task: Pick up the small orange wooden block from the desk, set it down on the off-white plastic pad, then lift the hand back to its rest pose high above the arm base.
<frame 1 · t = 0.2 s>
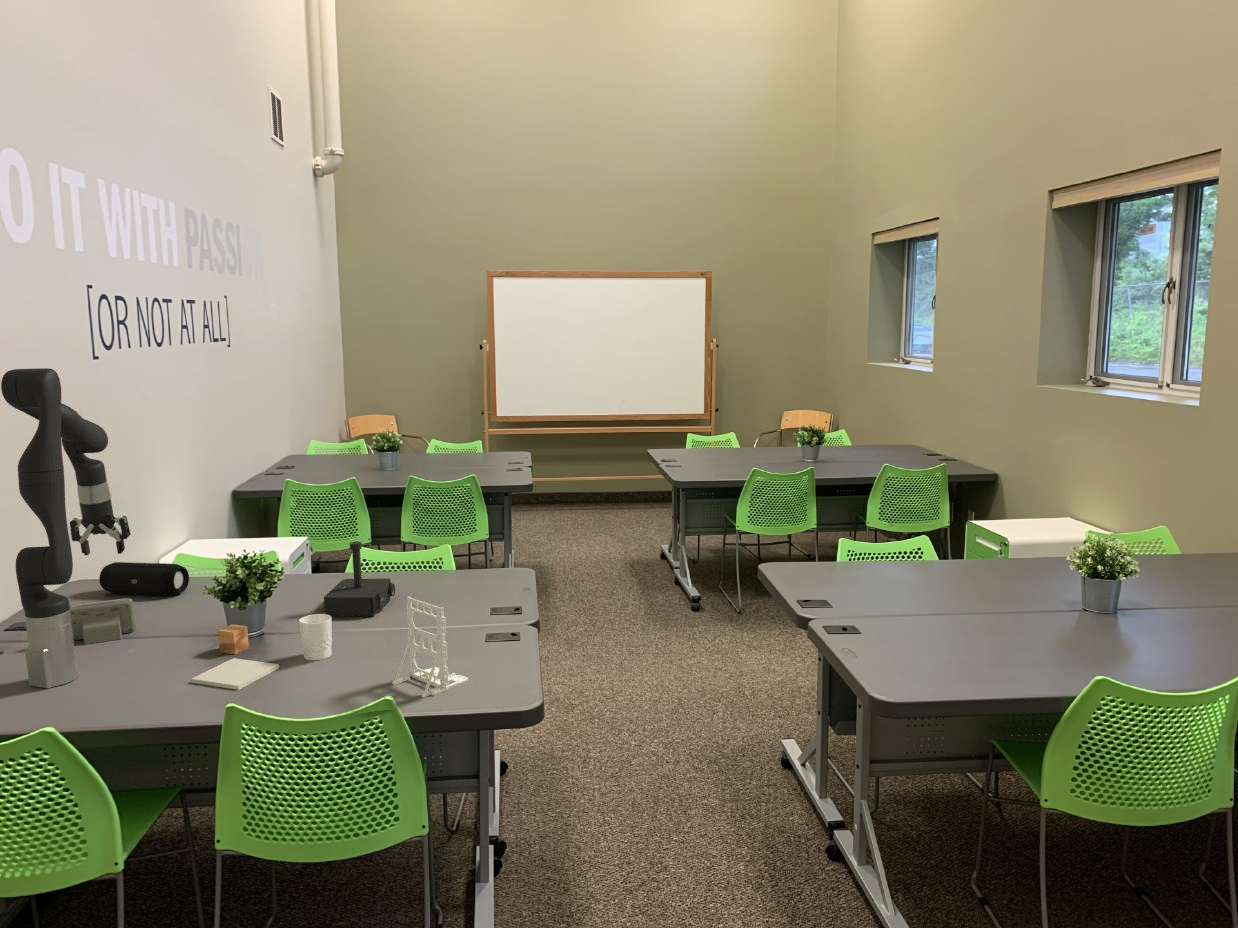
hand: (104, 553, 255), 22 cm above the table, tool pointing down, fingers open, 8 cm apart
orange block: (234, 650, 243), on the table
film strip holder: (431, 682, 220), on the table
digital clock: (103, 638, 254), on the table
white cup: (317, 656, 238), on the table
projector: (362, 608, 277), on the table
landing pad: (236, 675, 225), on the table
portable speaker: (146, 594, 294), on the table
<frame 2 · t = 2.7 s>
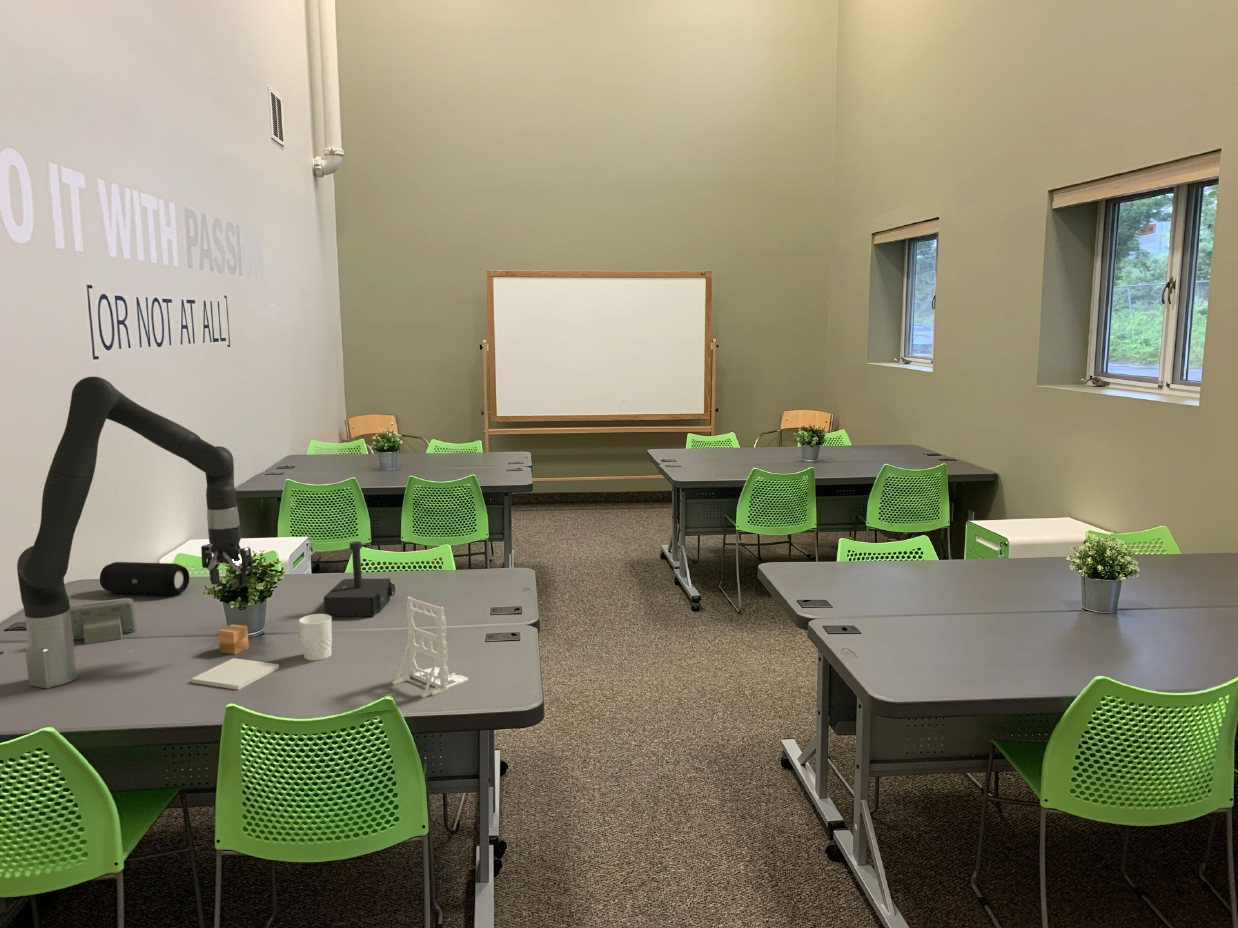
hand: (229, 585, 240), 18 cm above the table, tool pointing down, fingers open, 8 cm apart
nothing on the table moved.
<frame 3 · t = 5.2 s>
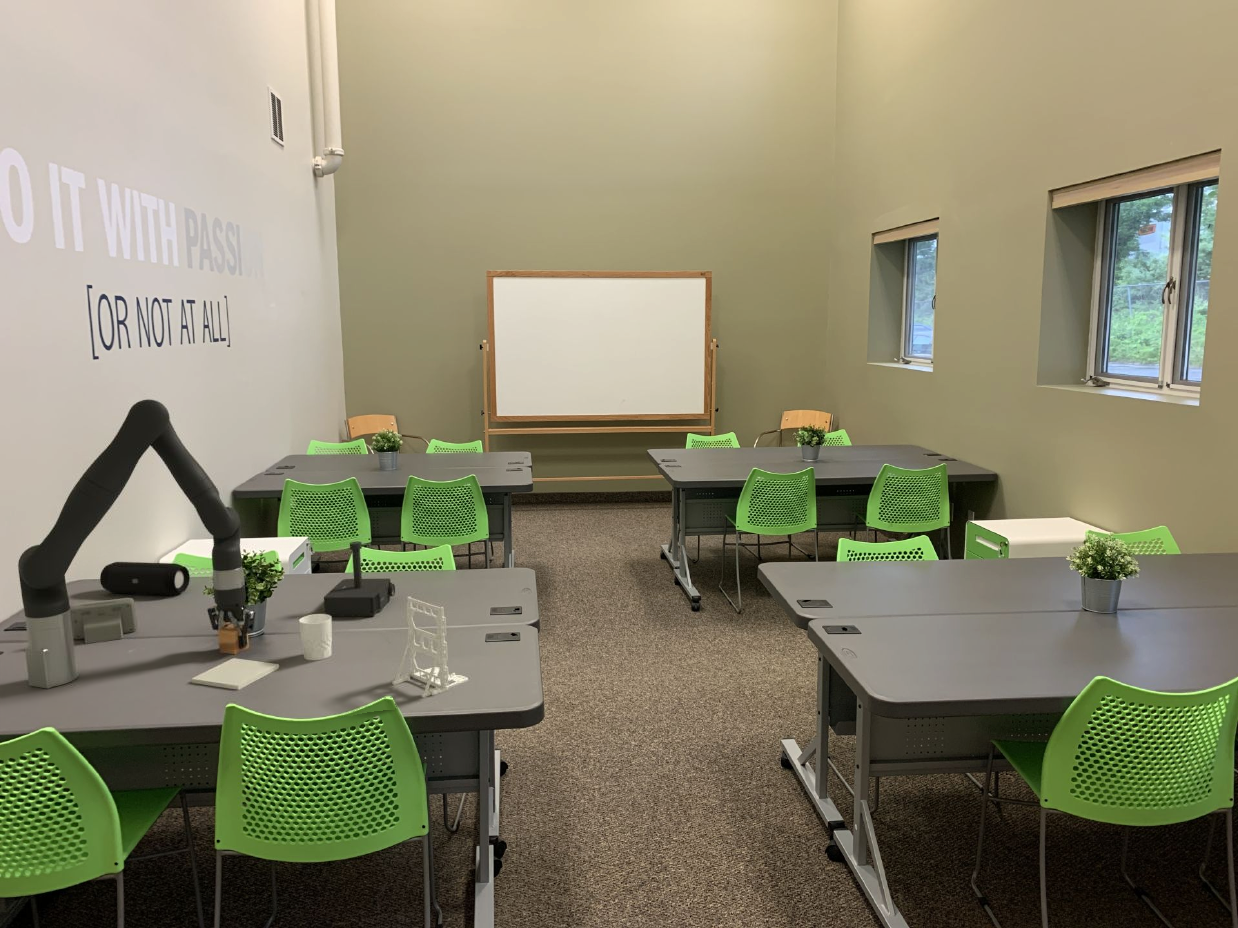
hand: (234, 646, 243), 1 cm above the table, tool pointing down, fingers closed on orange block, 5 cm apart
orange block: (234, 649, 243), on the table, touching gripper
everything else where it was.
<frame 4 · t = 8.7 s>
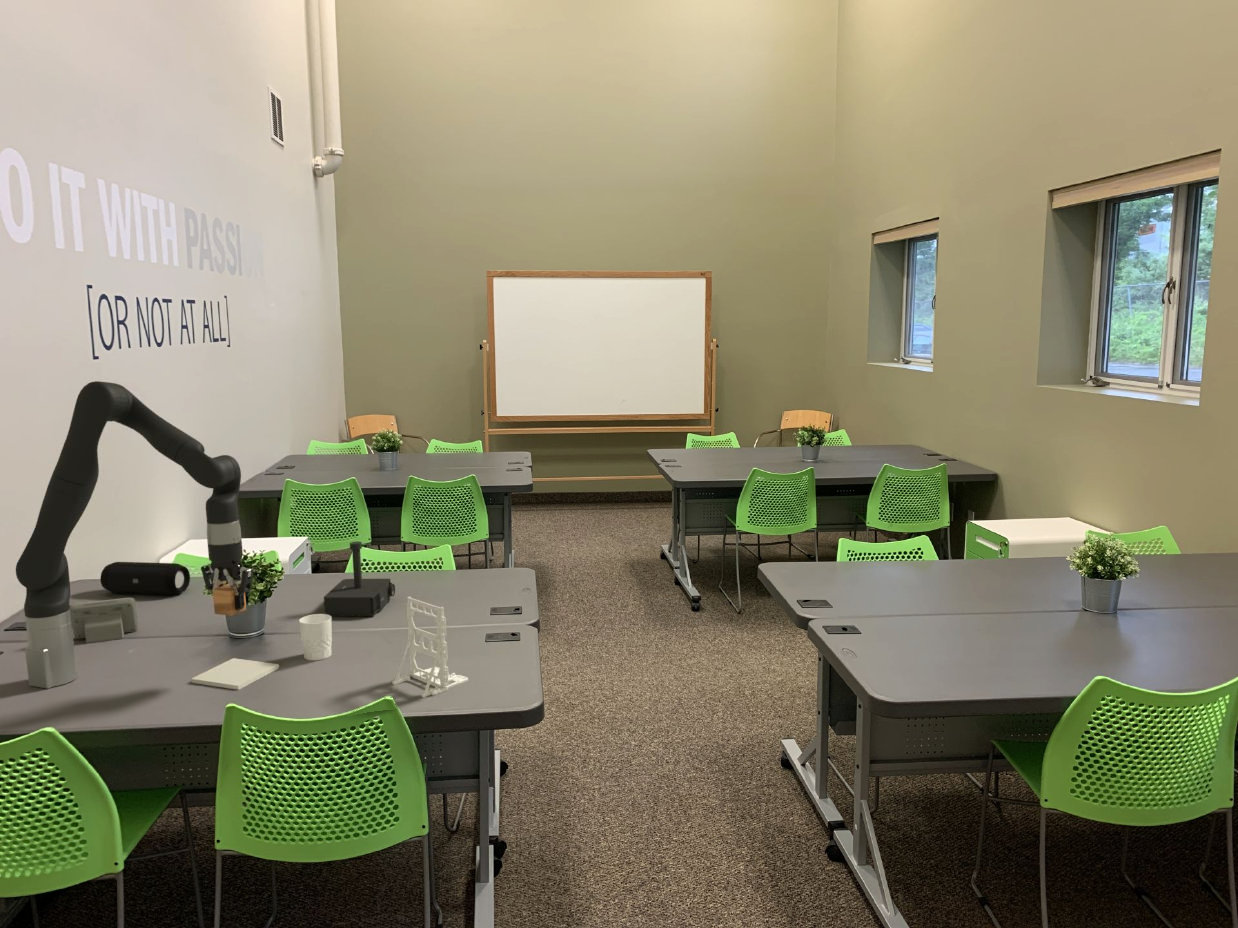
hand: (230, 607, 223), 17 cm above the table, tool pointing down, fingers closed on orange block, 5 cm apart
orange block: (230, 611, 223), point 16 cm above the table, touching gripper
everything else where it was.
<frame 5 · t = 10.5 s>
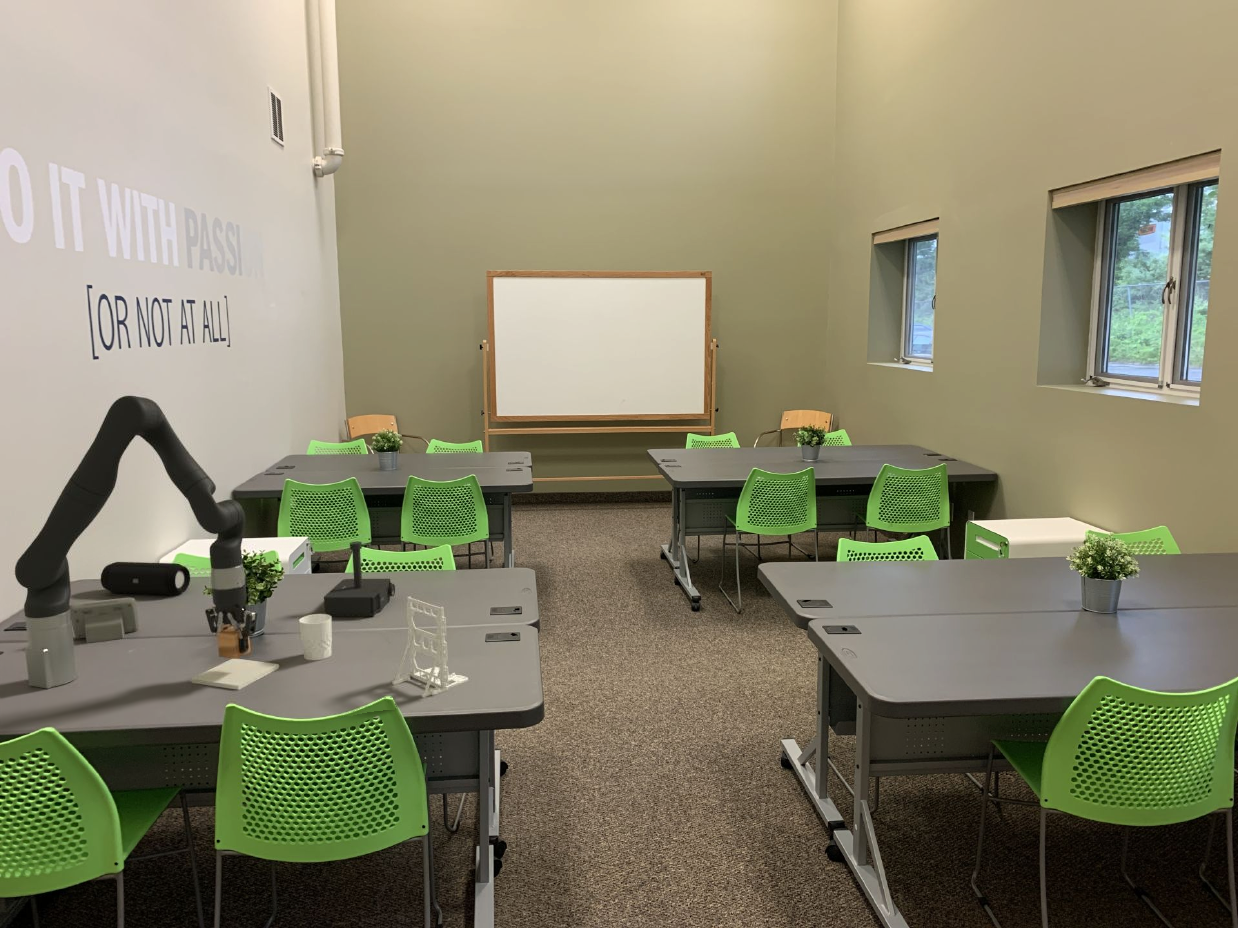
hand: (234, 650, 224), 6 cm above the table, tool pointing down, fingers closed on orange block, 5 cm apart
orange block: (234, 654, 225), point 5 cm above the table, touching gripper
everything else where it was.
when the fingers open (3 cm above the table, at t = 12.1 s): orange block stays where it is, resting on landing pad.
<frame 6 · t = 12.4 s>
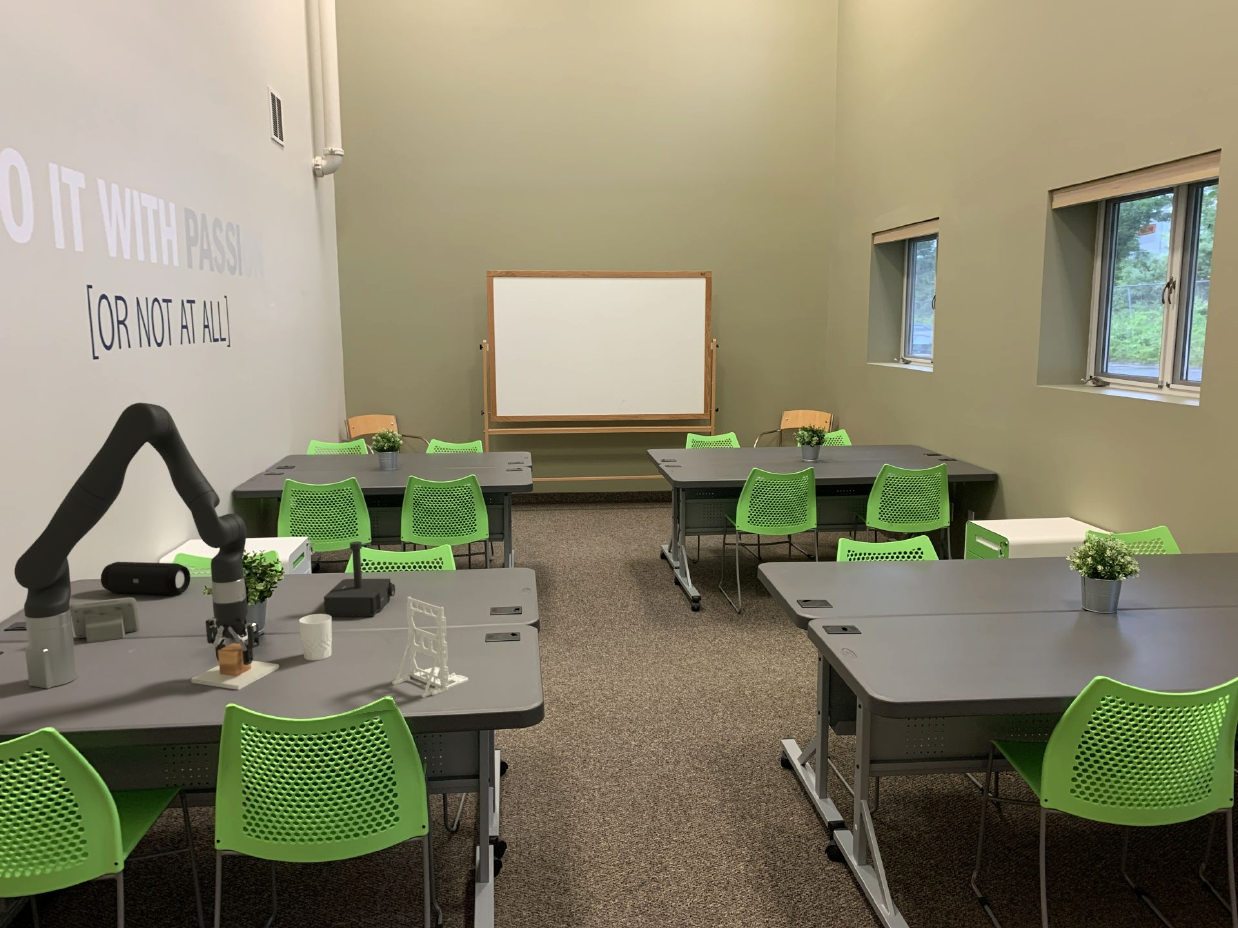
hand: (234, 661, 225), 3 cm above the table, tool pointing down, fingers open, 7 cm apart
orange block: (235, 671, 225), point 1 cm above the table, touching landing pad
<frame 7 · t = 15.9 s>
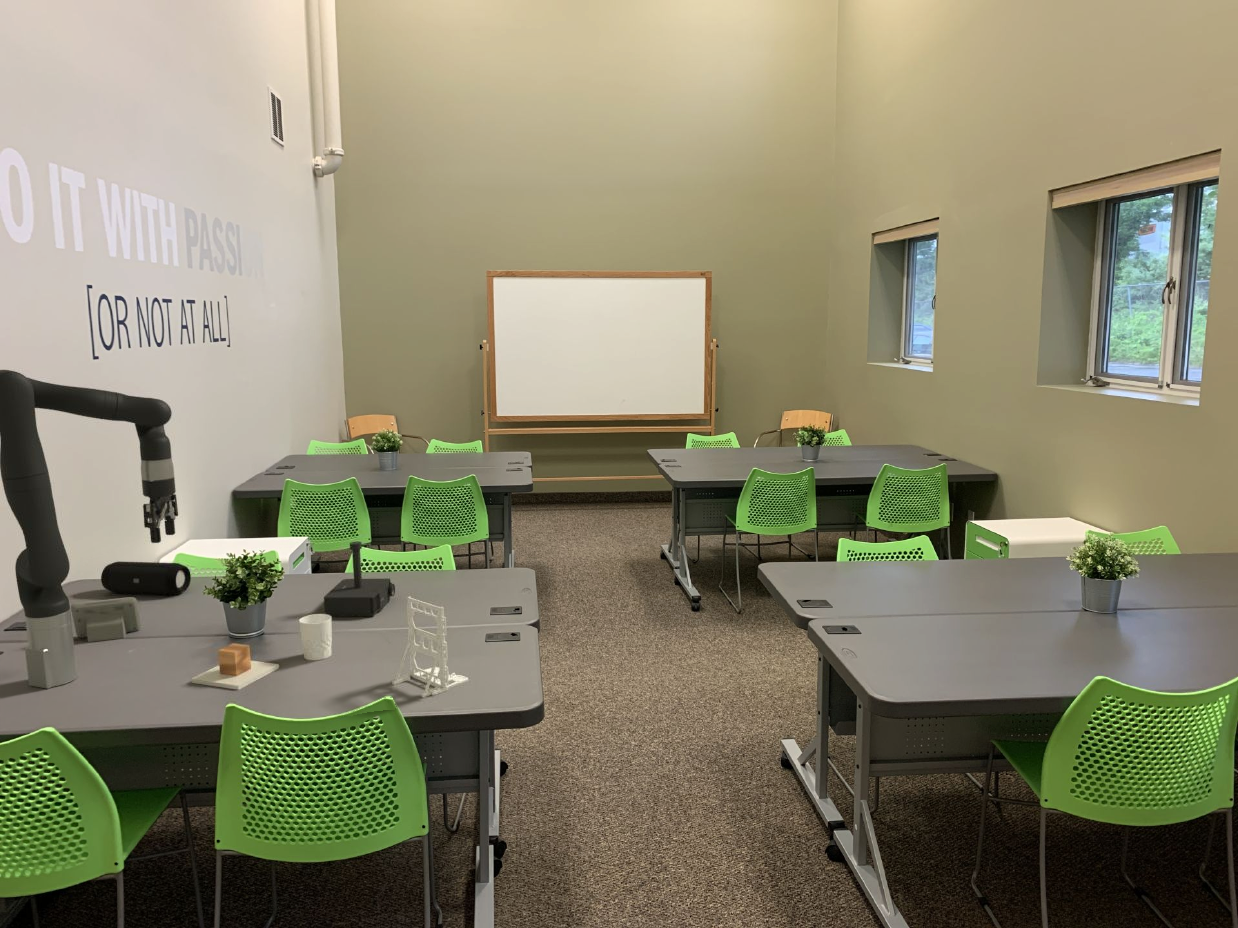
hand: (163, 538, 237), 30 cm above the table, tool pointing down, fingers open, 8 cm apart
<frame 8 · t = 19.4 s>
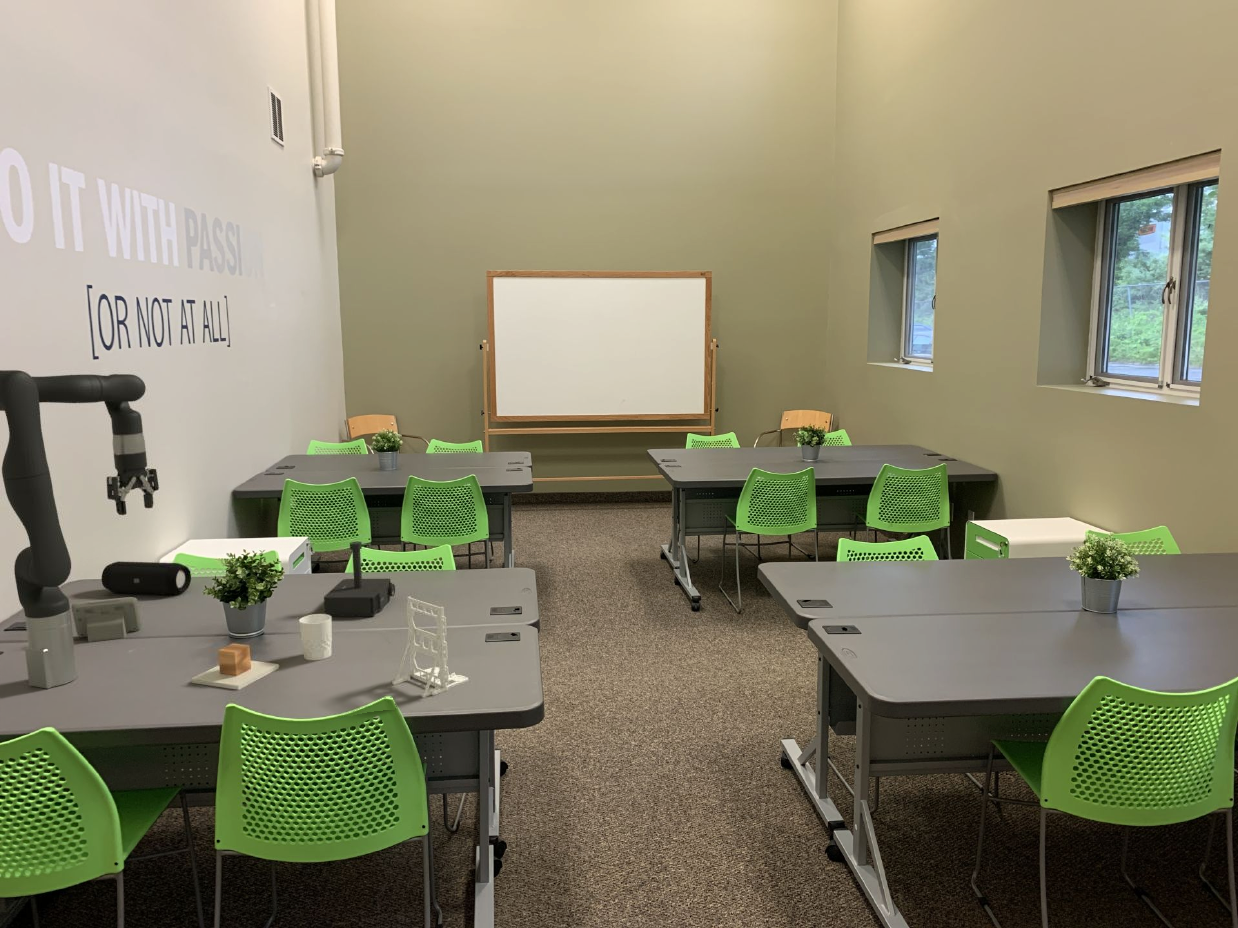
hand: (135, 511, 244), 36 cm above the table, tool pointing down, fingers open, 8 cm apart
at the end: orange block inside the target area on the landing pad (0.0 cm from its centre), point 1.0 cm above the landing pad's base; orange block tilted 0°; the gripper is holding nothing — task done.
